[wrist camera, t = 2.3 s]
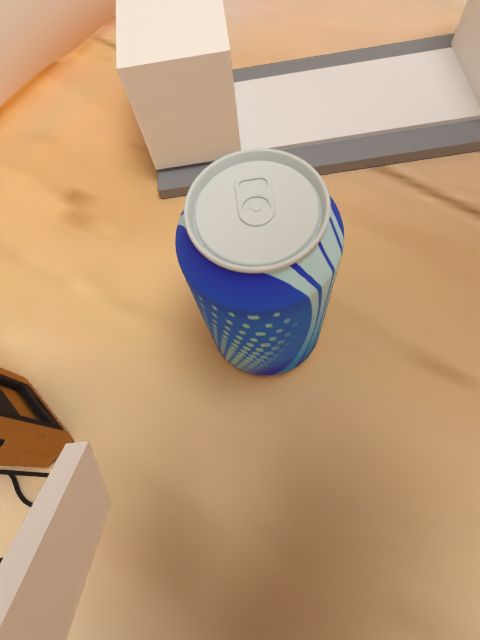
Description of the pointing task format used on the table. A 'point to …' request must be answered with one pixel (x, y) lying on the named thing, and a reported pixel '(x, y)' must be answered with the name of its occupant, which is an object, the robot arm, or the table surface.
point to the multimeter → (26, 429)
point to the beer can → (261, 256)
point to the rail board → (292, 95)
